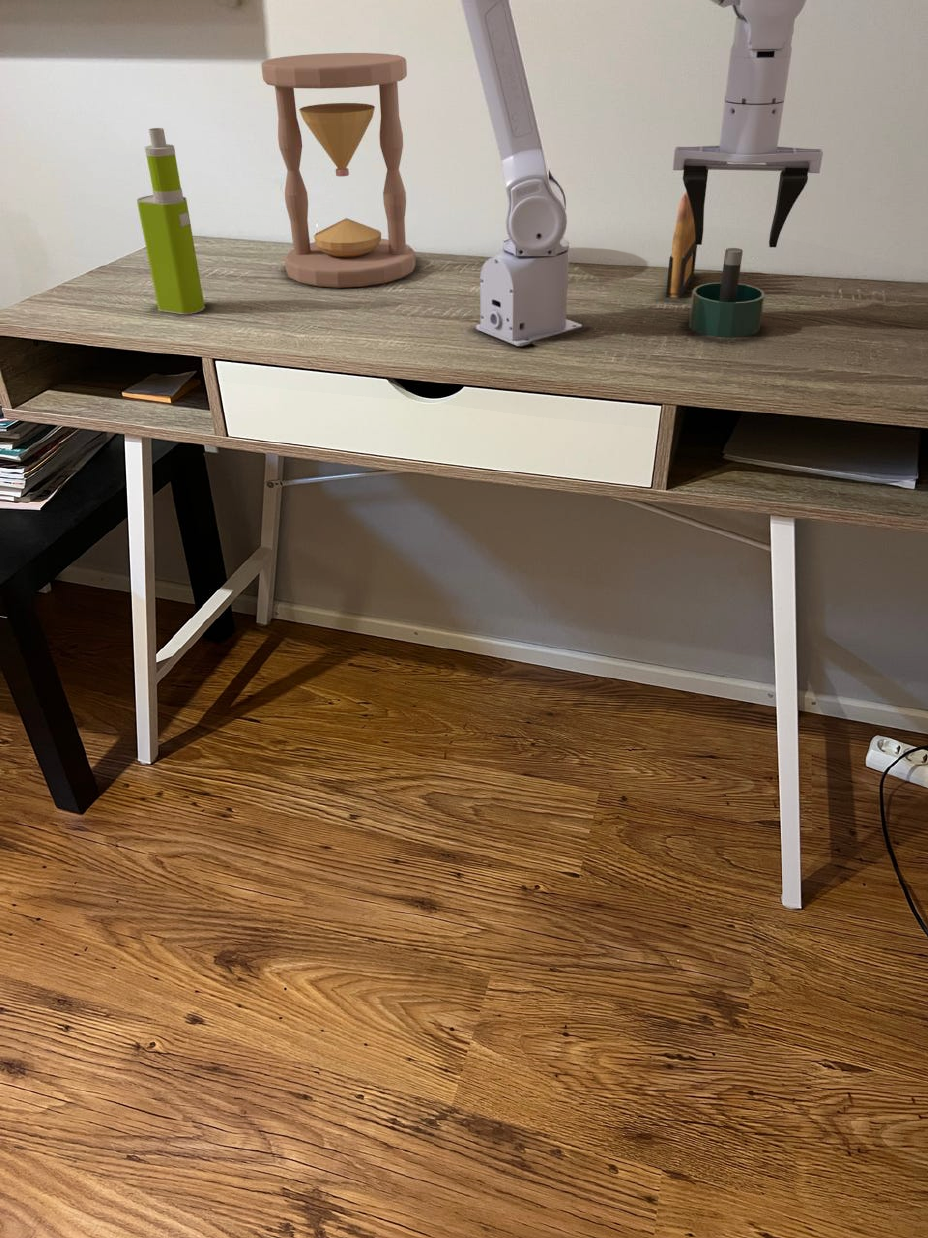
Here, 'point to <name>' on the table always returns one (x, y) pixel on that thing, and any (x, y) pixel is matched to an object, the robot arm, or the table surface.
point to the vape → (169, 233)
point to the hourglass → (342, 167)
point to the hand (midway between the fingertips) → (735, 243)
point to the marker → (730, 274)
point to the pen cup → (726, 311)
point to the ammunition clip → (682, 251)
